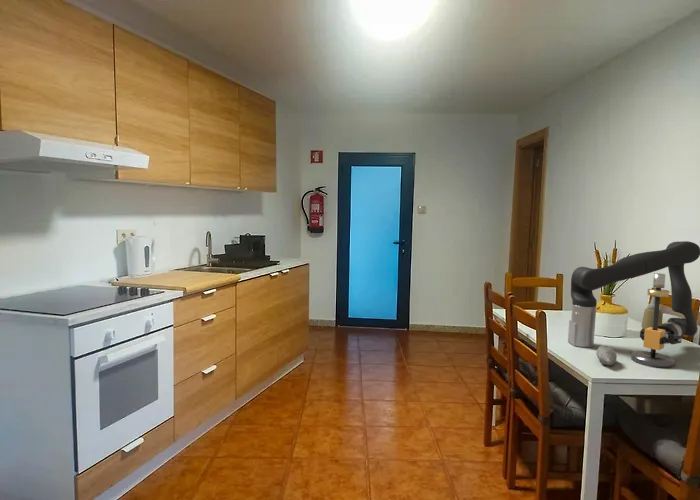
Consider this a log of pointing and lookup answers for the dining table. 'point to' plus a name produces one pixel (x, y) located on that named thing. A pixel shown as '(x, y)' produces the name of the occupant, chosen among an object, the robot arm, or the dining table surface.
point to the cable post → (653, 357)
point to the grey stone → (606, 355)
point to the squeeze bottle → (650, 315)
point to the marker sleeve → (653, 338)
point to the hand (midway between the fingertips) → (651, 339)
